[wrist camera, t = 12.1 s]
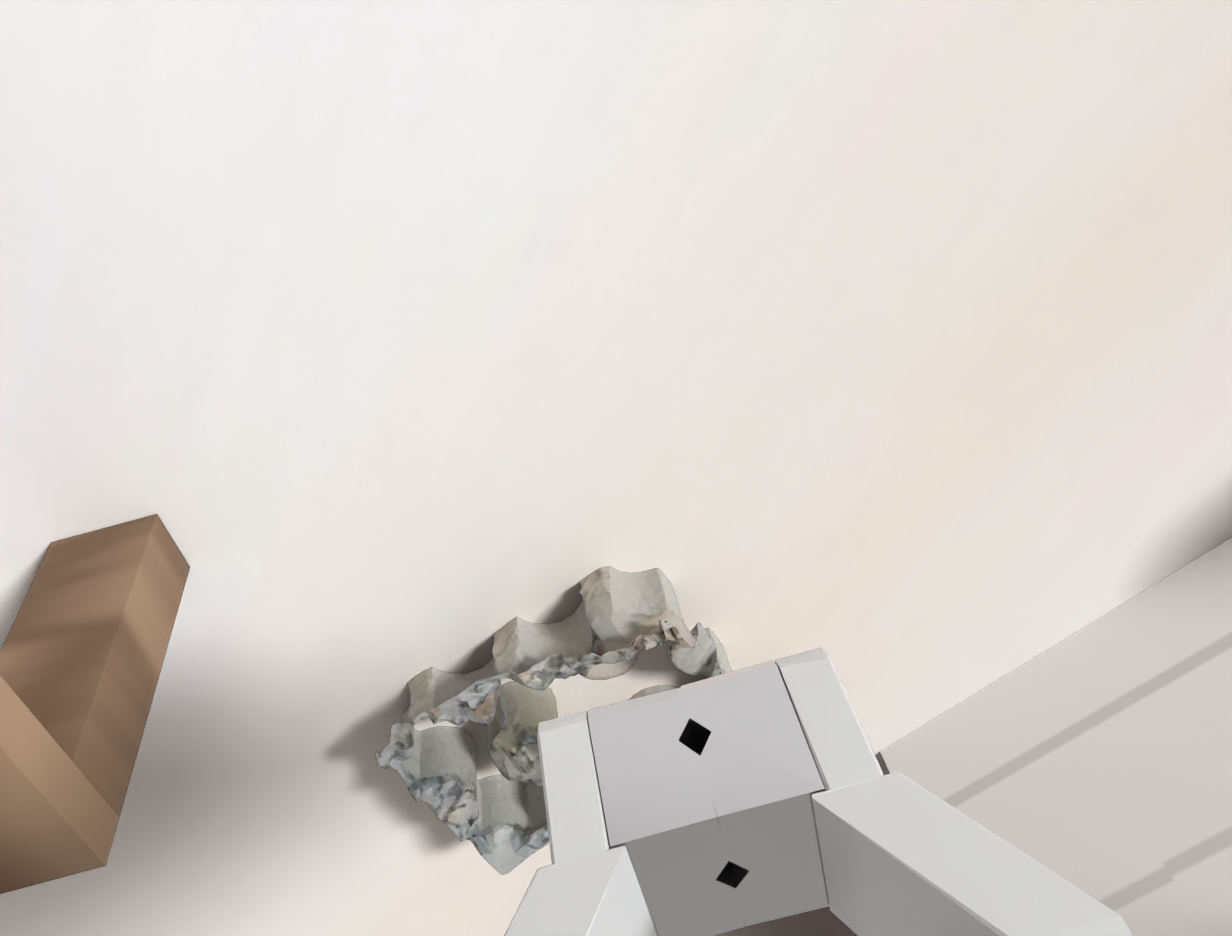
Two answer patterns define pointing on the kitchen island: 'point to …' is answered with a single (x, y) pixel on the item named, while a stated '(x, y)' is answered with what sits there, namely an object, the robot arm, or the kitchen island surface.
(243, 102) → the kitchen island surface
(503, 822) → the egg carton
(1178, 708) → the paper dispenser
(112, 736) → the bridge
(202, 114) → the kitchen island surface
